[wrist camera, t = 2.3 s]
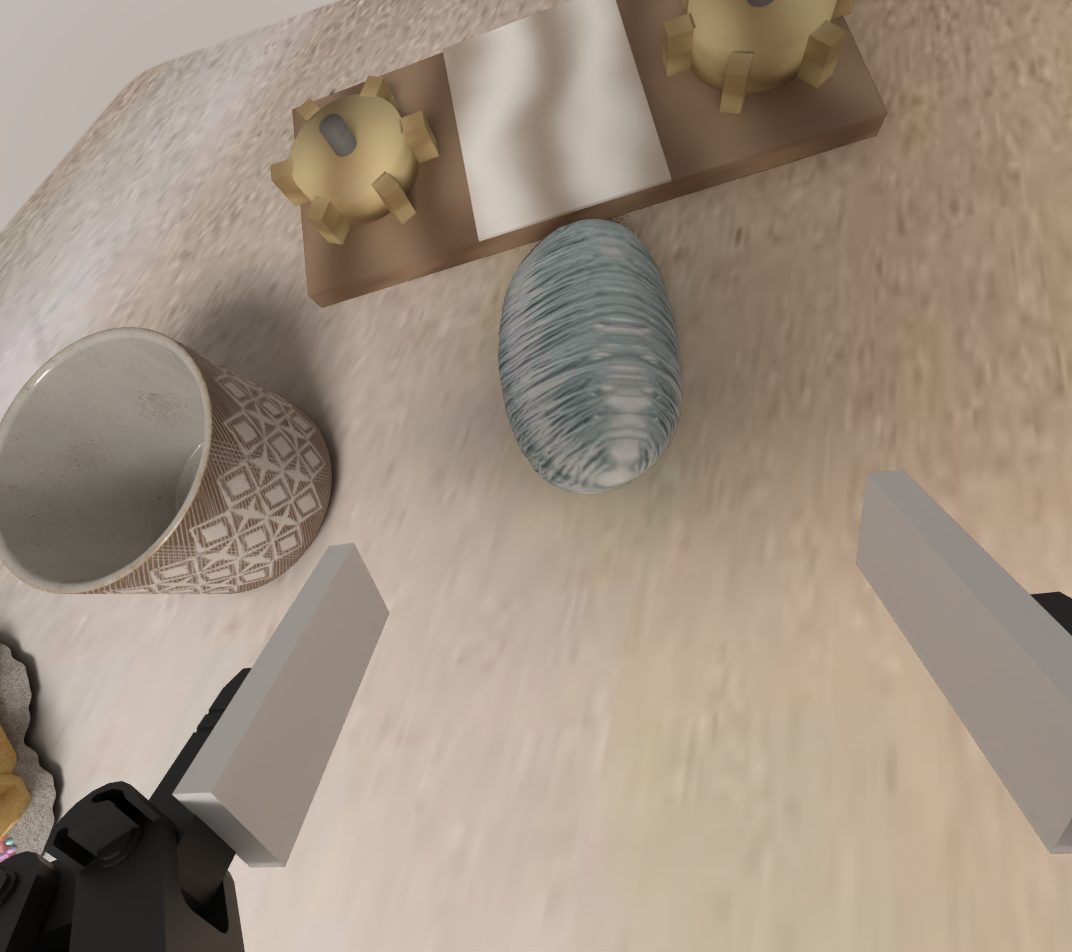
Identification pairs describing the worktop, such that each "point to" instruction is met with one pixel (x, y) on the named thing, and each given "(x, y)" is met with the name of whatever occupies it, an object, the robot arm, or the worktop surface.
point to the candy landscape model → (20, 768)
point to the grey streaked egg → (590, 358)
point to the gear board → (564, 129)
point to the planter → (155, 473)
